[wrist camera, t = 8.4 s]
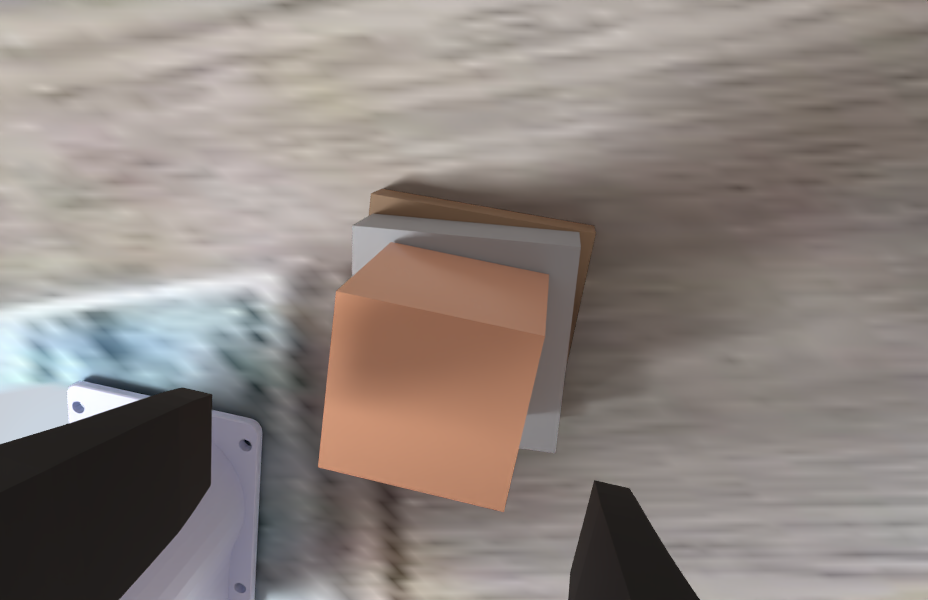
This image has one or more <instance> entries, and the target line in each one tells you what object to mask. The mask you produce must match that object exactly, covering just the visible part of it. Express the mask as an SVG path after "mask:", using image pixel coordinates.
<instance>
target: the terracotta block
mask: <svg viewBox="0 0 928 600" xmlns="http://www.w3.org/2000/svg"><path fill="white" fill-rule="evenodd" d="M548 286H549V274H544V273H539V272H534V271H529V270H525V269H520V268H515V267H510V266H505V265H500V264H496V263H491V262H486V261H481V260H476V259H471V258H467V257H462V256H457V255H452V254H447V253H442V252H438V251H433V250H428V249H423V248H418V247H413V246H409V245H404V244H399V243H394V242H390V243H389V244H388V245H387V246H386V247H385V248H384V249H383V250H381V251H380V252H379V253H378V254H377V255H376V256H375V257H374V258H373V259H371V260H370V261H369V262H368V263H367V264H366V265H365V266H364V267H362V268H361V269H360V270H359V271H358V272H357V273H356V274H355V275H354V276H352V277H351V278H350V279H349V280H348V281H347V282H346V283H345V284H343V285H342V286H341V287H340V288H339V289H338V290H337V291H336V297H335V307H334V317H333V326H332V336H331V346H330V355H329V365H328V375H327V384H326V394H325V404H324V413H323V423H322V433H321V443H320V452H319V462H318V467H319V468H323V469H327V470H331V471H335V472H339V473H344V474H348V475H352V476H356V477H360V478H364V479H369V480H373V481H377V482H381V483H385V484H389V485H393V486H398V487H402V488H406V489H410V490H414V491H418V492H423V493H427V494H431V495H435V496H439V497H443V498H447V499H452V500H456V501H460V502H464V503H468V504H472V505H476V506H481V507H485V508H489V509H493V510H497V511H501V512H504V509H505V505H506V501H507V496H508V492H509V488H510V484H511V479H512V475H513V471H514V467H515V462H516V458H517V454H518V450H519V445H520V441H521V437H522V433H523V428H524V424H525V420H526V416H527V411H528V407H529V403H530V399H531V394H532V390H533V386H534V381H535V377H536V373H537V369H538V364H539V360H540V356H541V352H542V347H543V343H544V339H545V331H546V316H547V301H548Z"/></svg>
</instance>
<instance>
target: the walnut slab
mask: <svg viewBox="0 0 928 600" xmlns="http://www.w3.org/2000/svg"><path fill="white" fill-rule="evenodd" d="M371 214H383V215H394V216H406V217H417V218H428V219H439V220H450V221H461V222H472V223H483V224H494V225H505V226H516V227H527V228H539V229H550V230H561V231H572V232H579V234H580V244H581V250H580V258H579V266H578V274H577V282H576V290H575V298H574V307H573V315H572V323H571V331H570V339H569V347H568V355H567V361H568V357H569V352H570V348H571V343H572V339H573V334H574V330H575V325H576V321H577V316H578V312H579V307H580V303H581V298H582V294H583V289H584V285H585V280H586V275H587V271H588V266H589V262H590V257H591V253H592V248H593V244H594V239H595V235H596V232H595V227H594V226H593V225H587V224H581V223H576V222H570V221H564V220H559V219H553V218H547V217H542V216H536V215H530V214H524V213H519V212H513V211H507V210H502V209H496V208H490V207H484V206H479V205H473V204H467V203H462V202H456V201H450V200H444V199H439V198H433V197H427V196H422V195H416V194H410V193H404V192H399V191H393V190H387V189H380V190H378V191H376V192H373V193H371V198H370V208H369V216H370V215H371ZM566 366H567V364H566Z"/></svg>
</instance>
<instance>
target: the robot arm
mask: <svg viewBox="0 0 928 600" xmlns="http://www.w3.org/2000/svg"><path fill="white" fill-rule="evenodd" d="M67 402H68V416H69V424H66V425H63V426H60V427H56V428H53V429H50V430H46V431H43V432H40V433H36V434H33V435H30V436H27V437H23V438H20V439H16V440H13V441H10V442H7V443H3V444H0V600H254V599H255V578H256V557H257V536H258V515H259V494H260V473H261V451H262V428H261V426H260V424H259V423H258V422H257V421H256V420H253V419H251V418H247V417H242V416H238V415H233V414H229V413H224V412H220V411H215V410H212V394H208V393H204V392H200V391H195V390H191V389H186V388H179V389H174V390H170V391H167V392H163V393H160V394H156V395H153V396H148V395H144V394H139V393H135V392H130V391H126V390H121V389H117V388H112V387H108V386H103V385H99V384H94V383H90V382H85V381H78V382H76V383H74V384H72V385H70V386H69V387H68V389H67ZM80 403H82V404H83V406H84V407H82V406H81V404H80ZM244 439H246V440H248V441H249V442H250V443H251V445H252V446H249V445H247V444H246V443H245V441H244ZM240 583H241V584H243V585H244V586H243V585H241V584H240ZM568 600H700V599H699V598H698V596H697V595H696V593H695V592H694V591H693V589H692V588H691V586H690V585H689V583H688V582H687V580H686V579H685V577H684V576H683V574H682V573H681V571H680V570H679V568H678V567H677V565H676V564H675V562H674V561H673V559H672V558H671V556H670V554H669V553H668V551H667V550H666V548H665V546H664V545H663V543H662V542H661V540H660V538H659V537H658V535H657V533H656V532H655V530H654V528H653V527H652V525H651V523H650V522H649V520H648V518H647V517H646V515H645V513H644V512H643V510H642V508H641V506H640V505H639V503H638V501H637V500H636V498H635V496H634V495H633V493H632V492H631V490H630V489H629V488H626V487H621V486H617V485H612V484H608V483H604V482H599V481H595V480H594V484H593V488H592V491H591V495H590V499H589V503H588V507H587V511H586V514H585V518H584V522H583V526H582V530H581V533H580V537H579V541H578V545H577V549H576V553H575V556H574V560H573V564H572V568H571V572H570V584H569V599H568Z"/></svg>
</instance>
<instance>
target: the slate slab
mask: <svg viewBox="0 0 928 600" xmlns="http://www.w3.org/2000/svg"><path fill="white" fill-rule="evenodd" d="M390 242H394V243H399V244H404V245H409V246H413V247H418V248H423V249H428V250H433V251H438V252H442V253H447V254H452V255H457V256H462V257H467V258H471V259H476V260H481V261H486V262H491V263H496V264H500V265H505V266H510V267H515V268H520V269H525V270H529V271H534V272H539V273H544V274H549V286H548V301H547V316H546V331H545V339H544V343H543V347H542V352H541V356H540V360H539V364H538V369H537V373H536V377H535V381H534V386H533V390H532V394H531V399H530V403H529V407H528V411H527V416H526V420H525V424H524V428H523V433H522V437H521V441H520V445H519V448H520V449H527V450H535V451H542V452H549V453H556V445H557V437H558V429H559V421H560V412H561V404H562V396H563V388H564V380H565V372H566V364H567V355H568V347H569V339H570V331H571V323H572V315H573V307H574V298H575V290H576V282H577V274H578V266H579V258H580V250H581V244H580V234H579V232H572V231H561V230H550V229H539V228H527V227H516V226H505V225H494V224H483V223H472V222H461V221H450V220H439V219H428V218H417V217H406V216H394V215H383V214H371V215H370V216H368V217H366V218H364V219H363V220H361V221H359V222H358V223H356V224H354V225H352V276H354V275H355V274H356V273H357V272H358V271H359V270H360V269H361V268H362V267H364V266H365V265H366V264H367V263H368V262H369V261H370V260H371V259H373V258H374V257H375V256H376V255H377V254H378V253H379V252H380V251H381V250H383V249H384V248H385V247H386V246H387V245H388V244H389V243H390Z"/></svg>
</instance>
